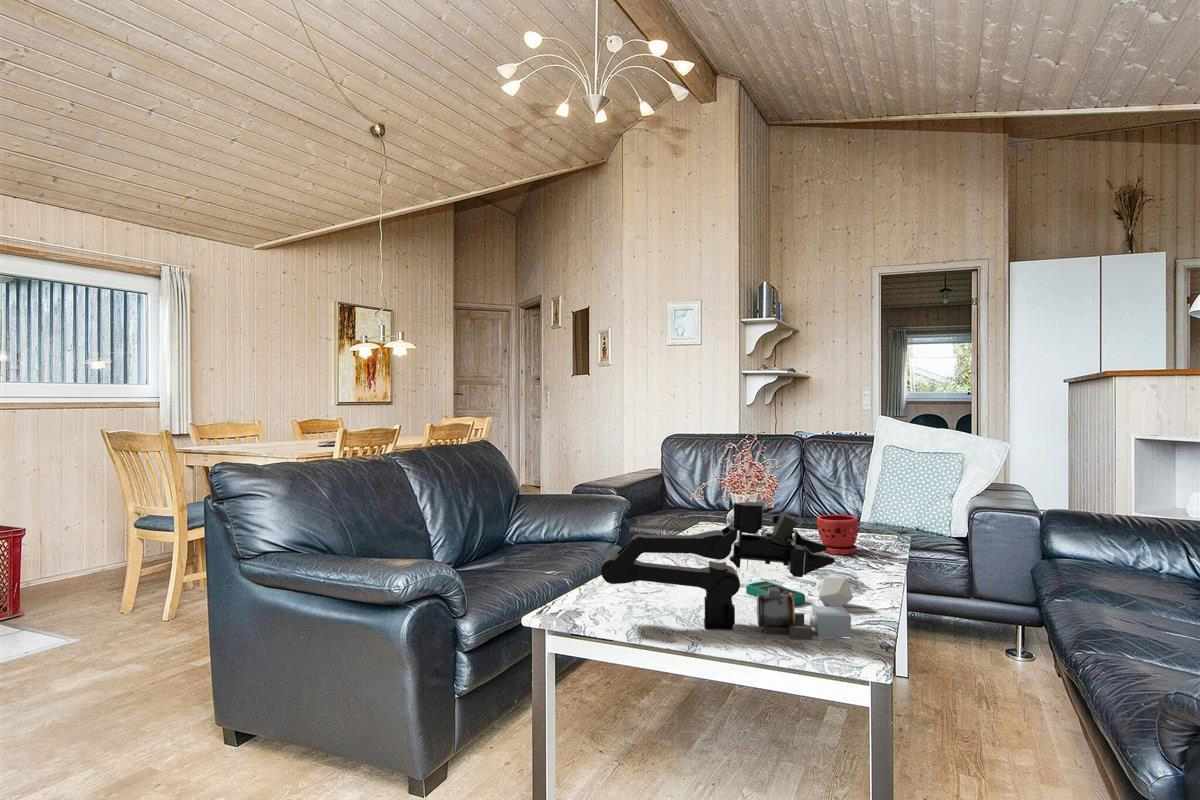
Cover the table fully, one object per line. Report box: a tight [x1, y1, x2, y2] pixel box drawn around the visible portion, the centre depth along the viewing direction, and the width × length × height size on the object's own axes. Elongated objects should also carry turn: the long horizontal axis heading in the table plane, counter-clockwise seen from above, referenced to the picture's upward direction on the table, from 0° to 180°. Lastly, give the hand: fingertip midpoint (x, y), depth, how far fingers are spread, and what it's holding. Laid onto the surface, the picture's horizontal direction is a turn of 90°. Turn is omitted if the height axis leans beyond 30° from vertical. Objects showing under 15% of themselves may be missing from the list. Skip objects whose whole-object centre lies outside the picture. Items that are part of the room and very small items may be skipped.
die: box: [816, 573, 854, 607], centre depth 177 cm, size 8×9×10 cm
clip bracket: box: [788, 612, 813, 641], centre depth 159 cm, size 5×11×2 cm, turn 173°
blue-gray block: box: [809, 605, 852, 638], centre depth 158 cm, size 8×7×5 cm
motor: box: [756, 587, 796, 636], centre depth 159 cm, size 8×8×9 cm
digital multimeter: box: [745, 580, 806, 607], centre depth 185 cm, size 8×15×3 cm, turn 29°
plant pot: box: [816, 514, 859, 555], centre depth 238 cm, size 13×13×12 cm
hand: (830, 554), depth 160 cm, fingers open, 9 cm apart
